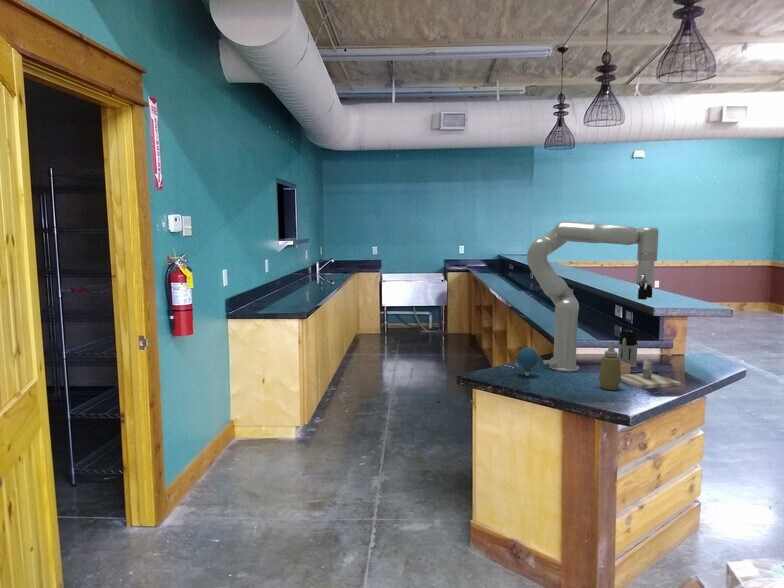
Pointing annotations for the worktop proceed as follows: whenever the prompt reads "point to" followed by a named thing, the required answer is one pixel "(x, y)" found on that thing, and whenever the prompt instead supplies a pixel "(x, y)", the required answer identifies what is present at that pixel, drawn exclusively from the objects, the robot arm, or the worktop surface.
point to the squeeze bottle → (610, 369)
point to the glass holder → (628, 348)
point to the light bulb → (527, 359)
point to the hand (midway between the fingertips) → (644, 298)
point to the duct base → (648, 383)
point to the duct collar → (625, 368)
